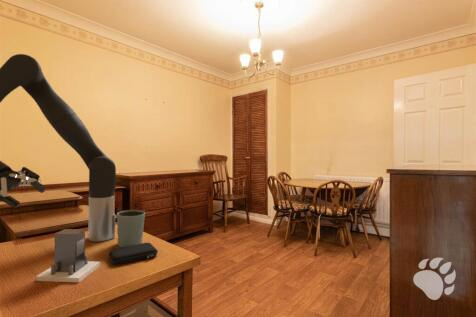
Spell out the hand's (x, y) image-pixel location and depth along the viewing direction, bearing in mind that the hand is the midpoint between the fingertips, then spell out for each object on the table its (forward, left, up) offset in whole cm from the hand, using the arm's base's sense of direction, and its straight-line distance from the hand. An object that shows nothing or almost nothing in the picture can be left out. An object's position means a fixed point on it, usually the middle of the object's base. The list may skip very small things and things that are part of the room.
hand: (31, 197), depth 78 cm
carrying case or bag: (-28, +12, -21) cm, 37 cm away
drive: (-10, +14, -19) cm, 26 cm away
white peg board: (-10, +14, -21) cm, 27 cm away
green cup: (-30, -1, -21) cm, 36 cm away
